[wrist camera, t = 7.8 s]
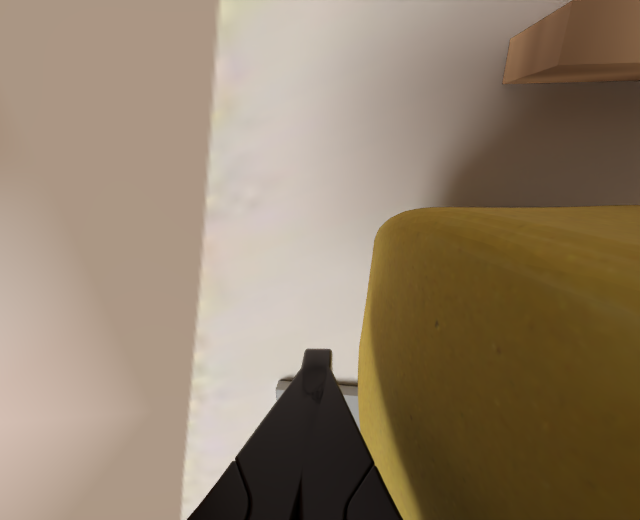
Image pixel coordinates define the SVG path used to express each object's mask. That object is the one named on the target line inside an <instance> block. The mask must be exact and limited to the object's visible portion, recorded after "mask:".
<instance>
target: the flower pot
mask: <svg viewBox="0 0 640 520" xmlns="http://www.w3.org/2000/svg"><path fill="white" fill-rule="evenodd" d="M358 407H359V421H360V432H361V434H362V436H363V438H364V441H365V443H366V445H367V447H368V449H369V451H370V453H371V455H372V458H373V460H374V462H375V466H377V468H378V470H379V472H380V474H381V476H382V478H383V481H384V483H385V485H386V487H387V489H388V491H389V493H390V495H391V497H392V499H393V501H394V503H395V505H396V507H397V509H398V511H399V512H400V514H401V516H402V518H403V520H640V205H609V206H582V207H536V208H482V207H430V208H420V209H414V210H409V211H405V212H402V213H400V214H398V215H396V216H394V217H392V218H390V219H389V220H387V221H386V222H385V223H384V224H383V225H382V226H381V227H380V229H379V230H378V232H377V235H376V237H375V240H374V247H373V255H372V263H371V270H370V277H369V284H368V292H367V299H366V306H365V312H364V319H363V326H362V332H361V339H360V345H359V362H358Z"/></svg>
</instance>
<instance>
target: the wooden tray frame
mask: <svg viewBox="0 0 640 520" xmlns="http://www.w3.org/2000/svg"><path fill="white" fill-rule="evenodd" d="M636 80H640V0H573V1H571V2H569V3H568V4H566V5H565V6H563V7H561V8H560V9H558V10H556V11H555V12H553V13H552V14H550V15H548V16H547V17H545V18H544V19H542V20H540V21H539V22H537V23H535V24H534V25H532V26H531V27H529V28H527V29H526V30H524V31H523V32H521V33H519V34H518V35H516V36H515V37H513V38H511V39H510V44H509V50H508V55H507V61H506V66H505V72H504V77H503V83H502V84H526V83H563V82H599V81H636Z"/></svg>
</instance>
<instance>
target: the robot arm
mask: <svg viewBox="0 0 640 520" xmlns="http://www.w3.org/2000/svg"><path fill="white" fill-rule="evenodd" d="M187 520H403V518H402V516H401V514H400V512H399V511H398V509H397V507H396V505H395V503H394V501H393V499H392V497H391V495H390V493H389V491H388V489H387V487H386V485H385V483H384V481H383V478H382V476H381V474H380V472H379V470H378V468H377V466H375V462H374V460H373V458H372V455H371V453H370V451H369V449H368V447H367V445H366V443H365V441H364V438H363V436H362V434H361V432H360V430H359V428H358V426H357V423H356V421H355V419H354V417H353V415H352V413H351V411H350V409H349V406H348V404H347V402H346V400H345V398H344V396H343V394H342V391H341V389H340V387H339V385H338V383H337V381H336V379H335V377H334V374H333V372H332V351H331V350H330V349H306V350H305V353H304V357H303V362H302V367H301V369H300V370H299V372H298V373H297V375H296V376H295V377H294V379H293V380H292V381H291V383H290V384H289V385H288V387H287V388H286V389H285V391H284V392H283V394H282V395H281V396H280V398H279V399H278V400H277V402H276V403H275V404H274V406H273V407H272V408H271V410H270V411H269V413H268V414H267V415H266V417H265V418H264V419H263V421H262V422H261V423H260V425H259V426H258V427H257V429H256V430H255V432H254V433H253V434H252V436H251V437H250V438H249V440H248V441H247V442H246V444H245V445H244V446H243V448H242V449H241V451H240V452H239V453H238V455H237V456H236V457H235V461H232V462H231V464H230V465H229V466H228V468H227V469H226V471H225V472H224V473H223V475H222V476H221V477H220V479H219V480H218V481H217V483H216V484H215V485H214V487H213V488H212V489H211V490H210V492H209V493H208V494H207V496H206V497H205V498H204V499H203V501H202V502H201V503H200V505H199V506H198V507H197V508H196V509H195V510H194V512H193V513H192V514H191V515H190V516H189V517H188V519H187Z"/></svg>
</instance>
